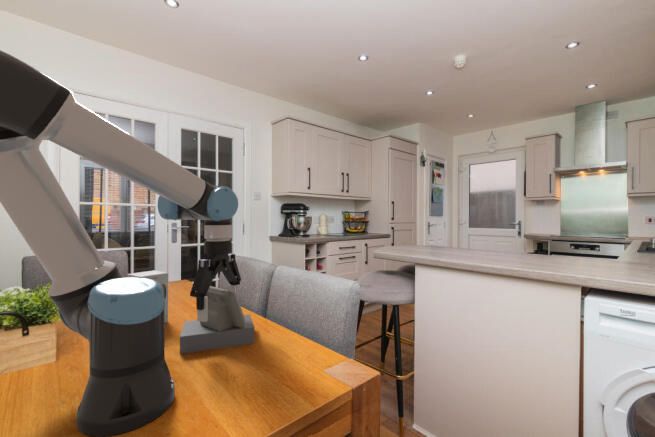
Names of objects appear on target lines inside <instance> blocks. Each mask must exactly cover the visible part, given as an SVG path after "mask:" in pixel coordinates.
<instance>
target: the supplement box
mask: <svg viewBox="0 0 655 437" xmlns="http://www.w3.org/2000/svg"><path fill="white" fill-rule="evenodd" d="M128 277H138V278H148V279H152V280H155V281H157V282H159V283H160V284H161V285H162V287H163V290H164V298H165V321H164V324H166V323H168V322H169V272H165V271H160V270H155V269H153V270H148V271H140V272H139V271H138V272H134V273H126V278H128Z"/></svg>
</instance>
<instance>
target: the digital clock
mask: <svg viewBox="0 0 655 437" xmlns="http://www.w3.org/2000/svg"><path fill="white" fill-rule="evenodd" d="M205 297H208V321H207V322H202V321H200V324H201V325H204V326H206V327H209V328H211V329H214V330H216V331H222V330H225V329H228V328H230V327H233V326H235V327H243V326H245V318H244V315H245V314H244V312H243V309H242V307H241V306H242V305H241V303H240V300H239V298H238V295H237V293H235V292H232V291H229V290H227V289H224V288H219V287H216V286H212V285H210V287H209V289H208V291H207V294H206V296H205Z"/></svg>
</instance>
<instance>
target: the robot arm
mask: <svg viewBox="0 0 655 437" xmlns="http://www.w3.org/2000/svg"><path fill="white" fill-rule="evenodd" d="M43 141H50V142H52V143H54V144H55V145H57V146H60V147H61V148H64V149H66V150H67V151H70V152H71V153H73V154H75V155H77V156H79V157H81V158H84V159H86V160H87V161H90V162H91V163H93V164H96V165H98V166H100V167H102V168H103V169H106V170H108V171H110V172H111V173H113V174H116V175H118V176H119V177H122V178H124V179H125V180H128V181H130V182H132V183H134V184H136V185H139V186H140V187H142V188H144V189H146V190H148V191H150V192H152V193H155V194H156V195H158V199H157V210H158V214H159V215H160V217H161V218H162V219H164V220H166V221H167V220H169V221H170V220H171V221H177V220H179V221H182V220H183V221H184V220H185V221H188V220H189V221H190V220H191V221H203V225H204V228H203V230H204V232H203V233H204V234H203V237H204V239H205V241H204V242H203V252H204V254H205V255H206V256H207V258H206V259H204V258H203V259H202V258H200V259H199V260H198V264H197V265H198V267H197V270H196V274H195V276H194V281H193V283H192V286H191V290H190V293H189V296H190V297H192V298H195V300H196V302H195V303H196V311H197V313H196V314H197V315H196V316H197V317H196V320H197V321H202V322H207V321H208V297H205V296H206V294H207V291H208V289H209V287H210V286H212V285H211V284H212V283H213V280H214V278H215V277H216V276H217V275H218V274H219V273H221V272H222V274H223V276H224V278H225V279H226V281H227V282H228V284H227V286H226V290H229V291H232V292H235V293H236V294H237V291H238V290H237V288H238V287H237V286H239V285H241V280H242V278H241V275H240V274H241V273H240V271H239V267H238V264H237V260H236V254H235V253H232V252H233V249H232V248H233V243H232V242H233V241H232V240H231V239H232V237H233V232H232V231H233V225H232V218H233V217H235V215H236V213H237V211H238V209H239V208H238V207H239V198H238V196H237V194H236V193H235V192H234V191H233V190H232V189H231V188H230V187H228V186H226V185H225V186H224V185H213V184H211V183H209V182H208V181H205V180H204V179H202V178H200V176H198V175H196V174H194V173H193V172H191V171H189V170H188V169H186V168H185V167H183V166H181V165H180V164H178V163H176V162H175V161H174V160H172V159H171V158H168V157H167V156H165V155H163V154H162V153H160V152H159V151H157V150H156V149H154V148H152V147H151V146H149V145H147V144H146V143H144V142H142V141H141V140H139V139H137V137H134V136H133V135H131V134H129V132H126V130H123V129H122V128H120V127H118V126H117V125H115V124H113V123H111V122H110V121H108V120H107V119H106V118H104V117H102V116H100V115H99V114H97V113H95V112H94V111H92V110H91V109H89V108H87V107H86V106H84V105H83V104H81V103H79V102H77V100H76V97H75V95H74V92H73V90H71V89H69V88H67V87H65V86H64V85H62V84H61V83H59V82H58V81H56V80H55V79H53V78H51V77H50V76H48V75H46V74H44V73H43V72H41V71H40V70H38V69H36V68H34V67H33V66H31V65H30V64H28V63H26V62H24V61H22V60H20V59H19V58H17V57H15V56H13V55H12V54H9V53H7V52H5V51H2V50H1V49H0V204H1V205H2V208H3V209H4V210H5V212H6V213H7V214H8V216H9V218H10V220H11V221H12V223H13V224H14V225H15V227H16V228H17V230H18V231H19V233H20V234H21V236H22V238H23V239H24V241H25V242H26V244H27V245H28V246H29V248H30V250H31V251H32V253H33V255H34V256H35V258H36V259H37V261H38V262H39V263H40V265H41V266H42V267H43V269H44V271H45V272H46V275H47V276H48V277H49V278H50V280H51V285H50V287H49V288H48V291H47V295H48V296H49V297H50V299H51V300H52V302H53V303H54V305H55V306H56V308H57V311H58V312H57V313H58V314H59V318H60V320H61V322H62V323H63V325H64V326H65V327H66V328H67V329H70V330H71V331H73V332H75V333H77V334H79V335H80V336H82V338H84V339H86V340H87V341H88V344H89V345H88V346H89V376H88V379H87V380H88V381H87V382H86V386H85V389H84V391H83V394H82V398H81V401H80V404H79V405H78V407H77V410H76V428H77V429H78V431H79V432H81V433H82V434H84V435H85V436H89V437H90V436H91V437H108V436H115V435H120V434H123V433H127V432H130V431H133V430H136V429H138V428H141V427H143V426H144V425H147V424H149V423H150V422H152V421H154V420H156V419H157V418H159V417H160V416H161V415H163V413H165V412H166V411H167V410H168V409H169V408H170V407H171V405H172V404H173V402H174V400H175V397H176V395H175V394H176V392H175V390H176V389H175V388H176V387H175V381H174V380H173V378H172V376H171V372H170V369H169V367H168V364H167V361H166V359H165V323H164V321H165V298H164V290H163V287H162V285H161V284H160V283H159V282H157V281H155V280H152V279H148V278H138V277H128V278H127V277H123V276H122V273H121V272H120V271H119V268H118V266H117V265H116V263H115V262H113V261H109V260H105V259H103V258H102V257H101V254H100V253H99V251H98V249H97V247H96V246H95V244H94V242H93V241H92V239H91V237H90V235H89V234H88V232H87V230H86V229H85V227H84V225H83V222H82V221H81V220H80V217H79V216H78V214H77V213H76V211H75V209H74V207H73V206H72V203H71V202H70V200H69V199H68V197H67V196H66V194H65V191H64V190H63V188H62V187H61V185H60V183H59V181H58V180H57V178H56V176H55V174H54V172H53V171H52V169H51V167H50V165H49V164H48V162H47V160H46V158H45V157H44V155H43V153H42V152H41V150H40V146H41V143H42V142H43Z"/></svg>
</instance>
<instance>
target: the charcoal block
mask: <svg viewBox="0 0 655 437" xmlns="http://www.w3.org/2000/svg"><path fill="white" fill-rule="evenodd" d="M243 315H244V318H245V326H243V327H235V326H233V327H230V328H228V329H225V330H222V331H216V330H214V329H211V328H209V327H206V326H204V325H201V324H200V321H197V319H195V320H194V319H193V320H185V321H184V322H183V326H182V329H181V332H180V335H179V355H183V354H189V353H197V352H203V351H209V350H211V351H212V350H216V349H217V350H218V349H224V348H231V347H238V346H245V345H252V344H255V325H254V322H253V319H252V316H251V314H243Z"/></svg>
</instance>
